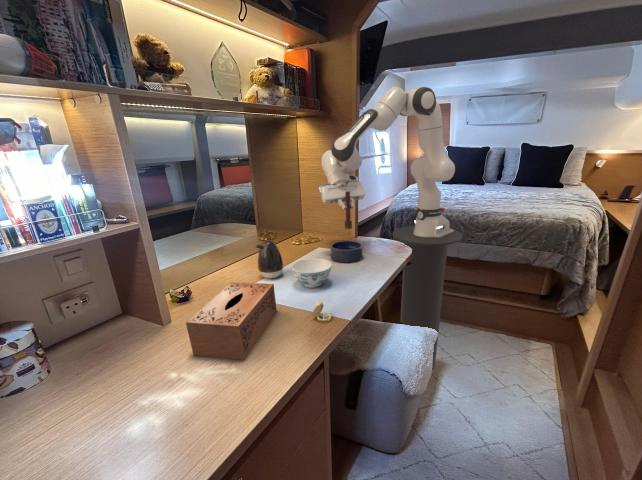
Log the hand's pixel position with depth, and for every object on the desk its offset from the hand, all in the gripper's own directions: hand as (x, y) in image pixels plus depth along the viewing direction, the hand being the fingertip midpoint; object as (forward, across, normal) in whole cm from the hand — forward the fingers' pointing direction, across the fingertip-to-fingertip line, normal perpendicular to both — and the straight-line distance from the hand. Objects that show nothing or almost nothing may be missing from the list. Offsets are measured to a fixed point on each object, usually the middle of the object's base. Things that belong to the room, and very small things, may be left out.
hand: (348, 208), depth 148 cm
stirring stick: (+6, 0, +7) cm, 9 cm away
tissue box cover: (+46, -58, -16) cm, 76 cm away
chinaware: (+31, -27, 0) cm, 41 cm away
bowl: (+17, -2, +15) cm, 22 cm away
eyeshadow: (+50, -33, -18) cm, 62 cm away
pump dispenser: (+20, -39, +11) cm, 45 cm away
